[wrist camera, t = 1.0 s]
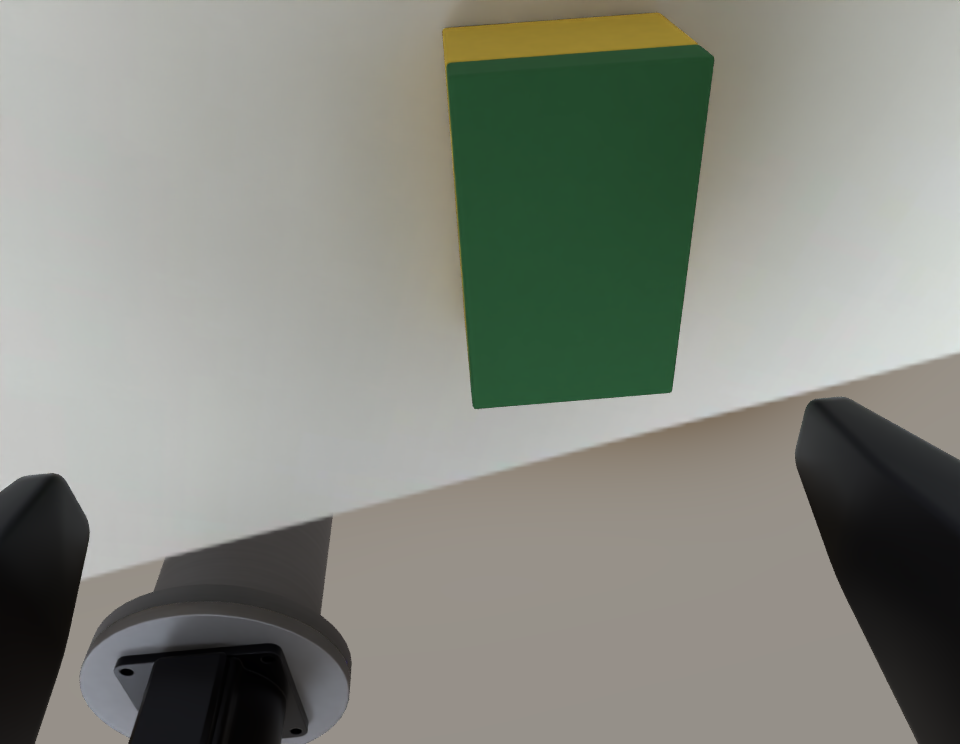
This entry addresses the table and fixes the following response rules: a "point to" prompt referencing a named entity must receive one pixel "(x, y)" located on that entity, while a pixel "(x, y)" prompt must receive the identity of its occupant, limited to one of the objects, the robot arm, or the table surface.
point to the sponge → (574, 201)
